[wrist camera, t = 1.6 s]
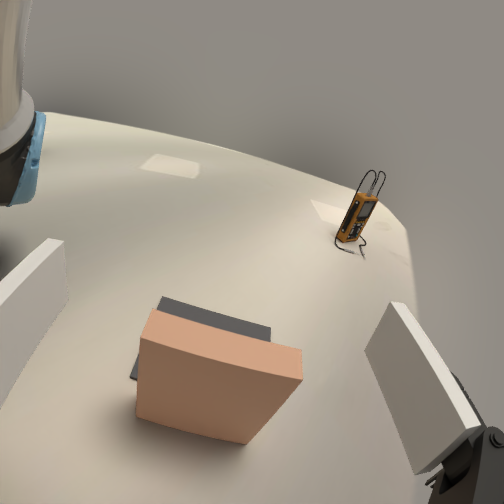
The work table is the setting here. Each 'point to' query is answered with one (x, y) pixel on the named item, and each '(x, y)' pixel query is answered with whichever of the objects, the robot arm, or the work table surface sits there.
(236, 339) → the tile
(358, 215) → the multimeter
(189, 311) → the mat
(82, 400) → the work table surface
